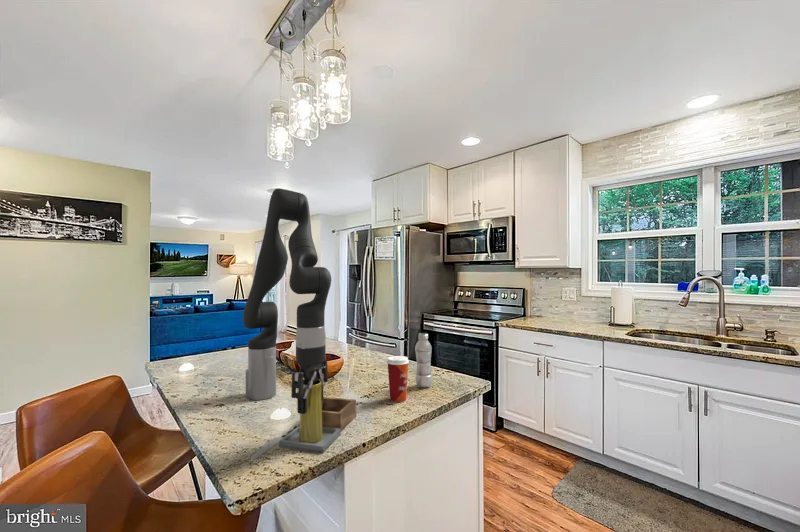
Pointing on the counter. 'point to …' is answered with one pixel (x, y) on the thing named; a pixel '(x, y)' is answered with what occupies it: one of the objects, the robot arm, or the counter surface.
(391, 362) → the paper cup
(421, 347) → the plastic bottle
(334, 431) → the tray
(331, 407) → the brown wooden box
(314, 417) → the vase
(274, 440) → the chef's knife
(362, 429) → the counter surface
